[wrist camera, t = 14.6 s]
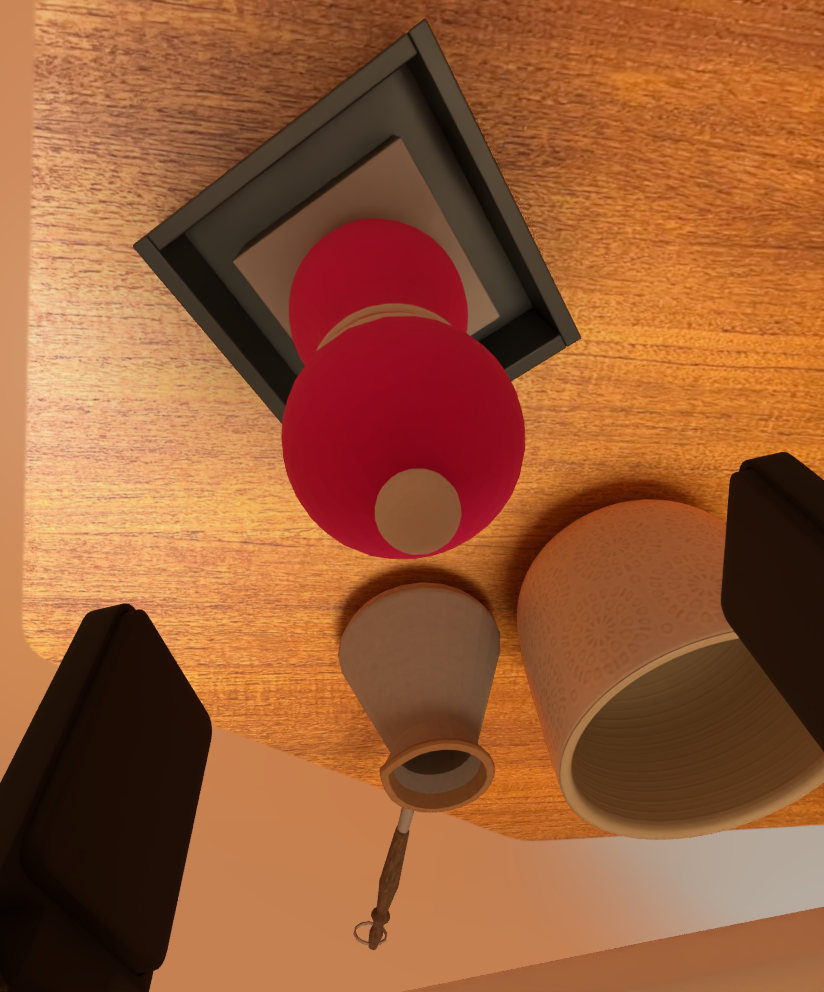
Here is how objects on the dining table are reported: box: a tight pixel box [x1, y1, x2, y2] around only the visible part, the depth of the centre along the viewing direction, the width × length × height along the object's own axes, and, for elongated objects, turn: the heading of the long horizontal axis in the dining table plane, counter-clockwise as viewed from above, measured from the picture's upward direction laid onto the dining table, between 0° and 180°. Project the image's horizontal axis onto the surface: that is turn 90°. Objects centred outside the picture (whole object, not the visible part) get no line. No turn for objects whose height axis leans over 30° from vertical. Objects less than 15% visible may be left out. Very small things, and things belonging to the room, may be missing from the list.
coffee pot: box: [338, 582, 500, 950], centre depth 42 cm, size 21×12×15 cm, turn 163°
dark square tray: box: [133, 19, 581, 423], centre depth 31 cm, size 15×15×6 cm
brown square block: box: [233, 135, 500, 340], centre depth 31 cm, size 9×9×4 cm
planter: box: [517, 499, 824, 840], centre depth 39 cm, size 17×17×15 cm
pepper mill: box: [281, 218, 525, 559], centre depth 21 cm, size 7×7×20 cm
